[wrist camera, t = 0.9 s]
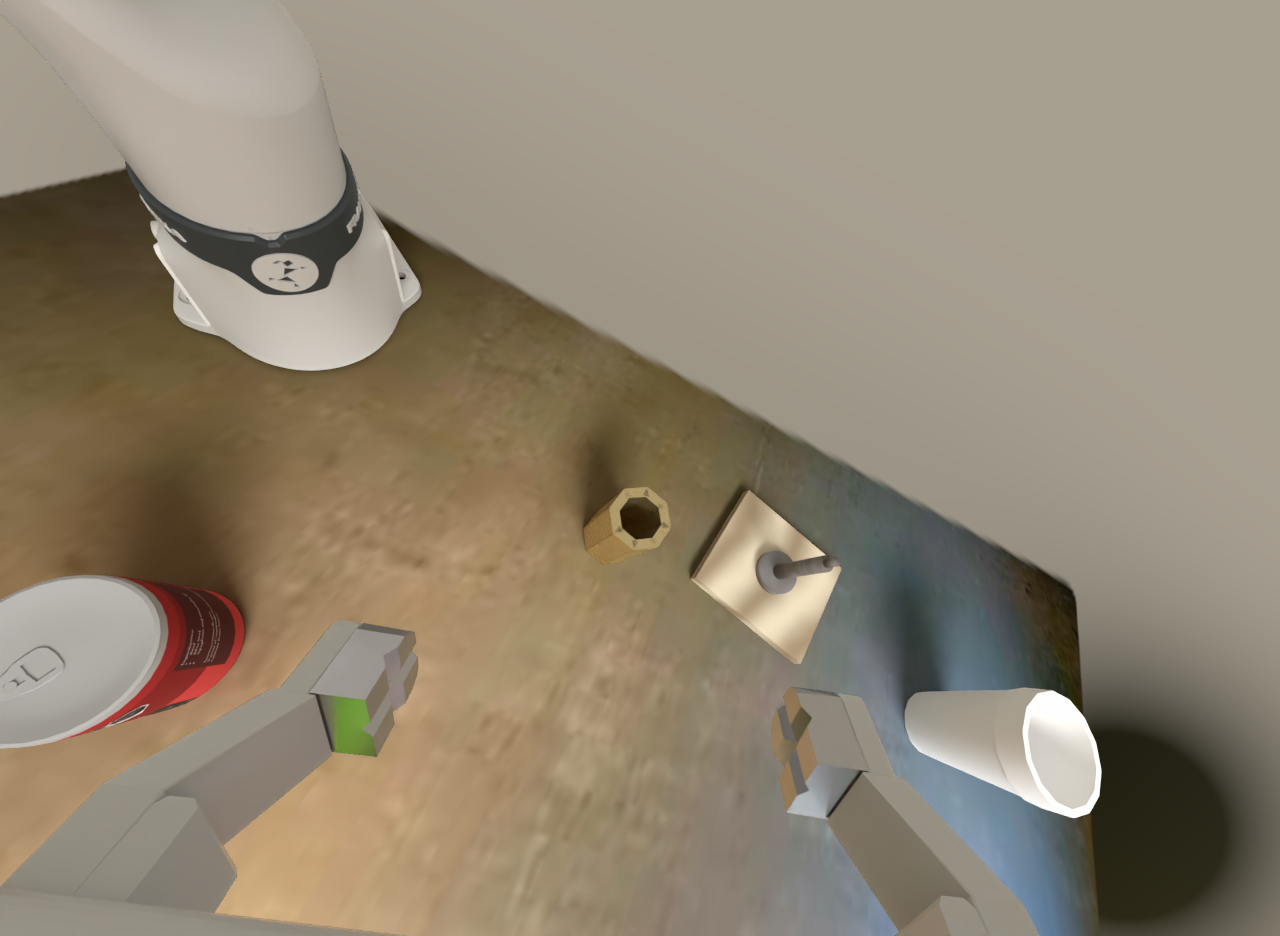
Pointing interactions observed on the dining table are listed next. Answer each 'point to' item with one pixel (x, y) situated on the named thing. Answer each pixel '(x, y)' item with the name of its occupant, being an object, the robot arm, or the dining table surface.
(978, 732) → the foam cup
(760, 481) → the dining table surface
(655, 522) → the collar
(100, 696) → the canned food
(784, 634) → the shaft stand
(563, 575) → the dining table surface
